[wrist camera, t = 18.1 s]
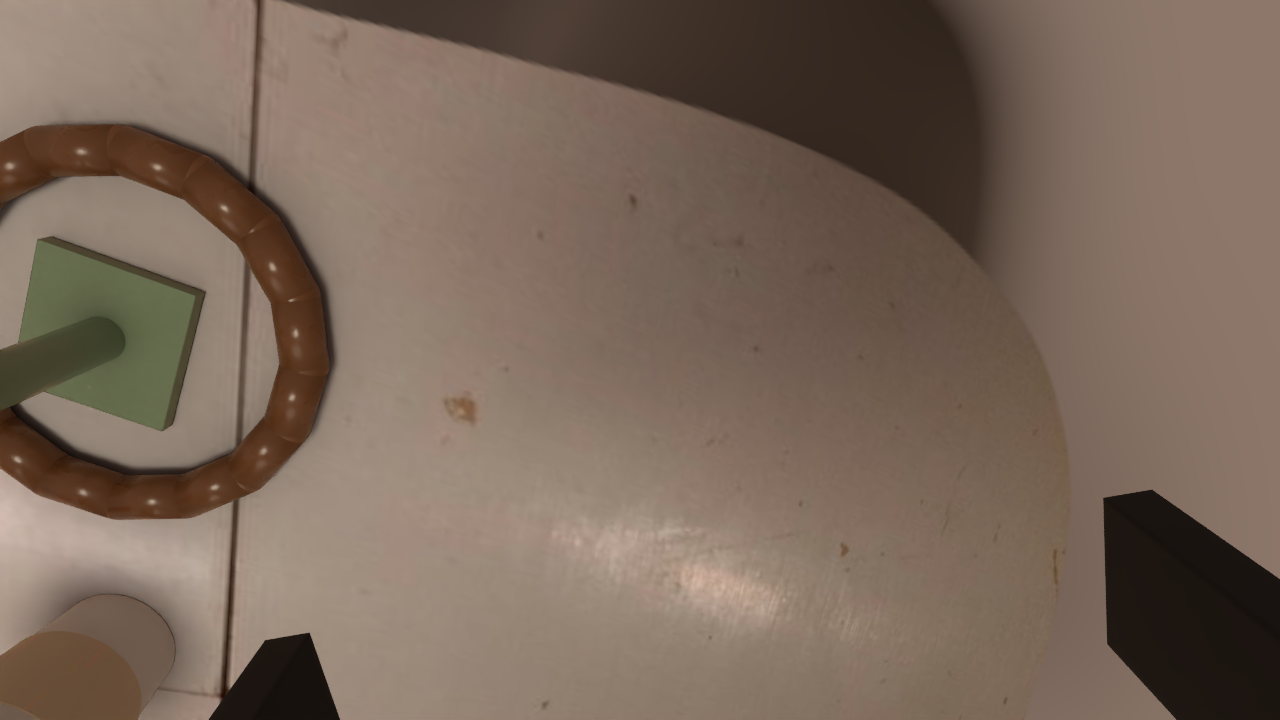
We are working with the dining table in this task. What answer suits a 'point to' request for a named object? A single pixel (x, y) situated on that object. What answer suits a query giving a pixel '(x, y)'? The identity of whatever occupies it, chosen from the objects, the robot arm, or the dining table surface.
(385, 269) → the dining table surface
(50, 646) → the coffee cup
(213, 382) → the dining table surface
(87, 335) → the post
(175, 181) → the ring
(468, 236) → the dining table surface
